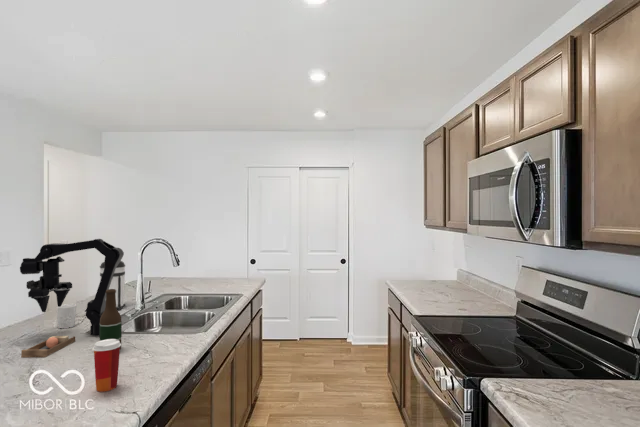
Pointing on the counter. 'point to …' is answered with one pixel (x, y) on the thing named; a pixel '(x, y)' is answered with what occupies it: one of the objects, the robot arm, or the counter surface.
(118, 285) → the coffee press
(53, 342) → the ball
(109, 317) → the beer bottle
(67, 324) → the white cup
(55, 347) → the brown wooden tray
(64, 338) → the tan wooden brick
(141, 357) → the counter surface
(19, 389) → the counter surface
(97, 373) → the paper cup
